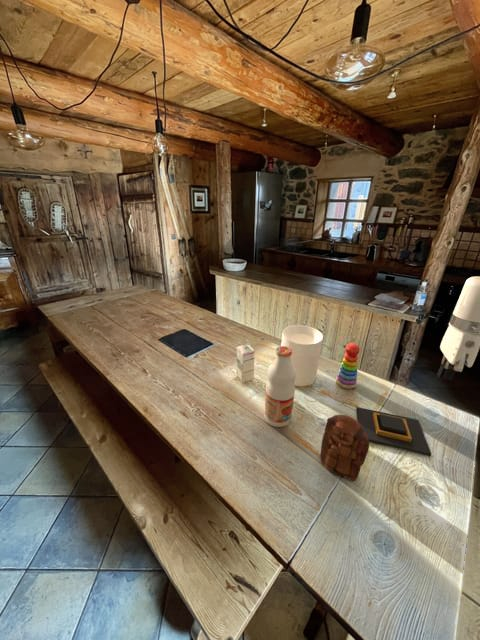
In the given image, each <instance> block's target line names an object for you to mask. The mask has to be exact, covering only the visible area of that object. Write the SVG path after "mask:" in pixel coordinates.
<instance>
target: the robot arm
mask: <svg viewBox="0 0 480 640" xmlns="http://www.w3.org/2000/svg"><path fill="white" fill-rule="evenodd" d="M439 349H440V351H441V352H442V354H443V355H442V359H441V364H440V367H439V369H438V372H437V374H436V375H437V377H438V379H440V380H445V381H452V379H454V375H455V373H456V372H460V373H462V372H463V369H464V366H466V367H467V368H472V367H473V365H474V363H475V361H476V358H477V356H478V353H479V350H480V276H471V277H469V278H467V279H466V281H465V283H464V285H463V287H462V290H461V293H460V295H459V298H458V300H457V302H456V305H455V307H454V310H453V312H452V314H451V316H450V320H449V322H448V326H447V329H446V331H445V333H444V335H443V337H442V339H441V342H440V345H439Z"/></svg>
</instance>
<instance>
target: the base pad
mask: <svg viewBox="0 0 480 640" xmlns="http://www.w3.org/2000/svg"><path fill="white" fill-rule="evenodd" d="M380 414H382V415H386V416H391V417H396V418H401V419H403V422H404V426H405V429H406V434H405V435H400V434H396V433H391V432H387V431H382V430H380V427H379V422H378V418H379V415H380ZM356 420H357V421H358V422H359V423H360V425H361V426H362V428H363V429H364V432H365V433H366V435H367V437H368V439H369V443H373V444H376V445H377V444H378V445H382V446H386V447H391V448H394V449H398V450H403V451H406V452H411V453H415V454H419V455H424V456H428V457H432V451H431V449H430V446H429V443H428V441H427V438H426V436H425V433H424V431H423V428H422V425H421V422H420V420H419V419H417V418H412V417H406V416H402V415H399V414H393V413H388V412H384V411H378V410H373V409H369V408H364V407H359V406H356Z"/></svg>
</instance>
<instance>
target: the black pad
mask: <svg viewBox="0 0 480 640" xmlns="http://www.w3.org/2000/svg"><path fill="white" fill-rule="evenodd" d="M378 422H379V427H380V430H382V431H387V432H391V433H396V434H400V435H405V434H406V429H405V426H404V422H403V419H401V418H396V417H391V416H386V415H382V414H380V415H379V418H378Z"/></svg>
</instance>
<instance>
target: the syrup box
mask: <svg viewBox="0 0 480 640" xmlns="http://www.w3.org/2000/svg"><path fill="white" fill-rule="evenodd" d="M255 351H256V350H255V348H253V347H252V346H251V344H249V343H247V344H241V345H240V346H236V376H237V377H238V379H239V380H240V381H241V383H246V382H249V381H252V380H254V379H255V358H256V357H255V356H256V355H255V353H256V352H255Z"/></svg>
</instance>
